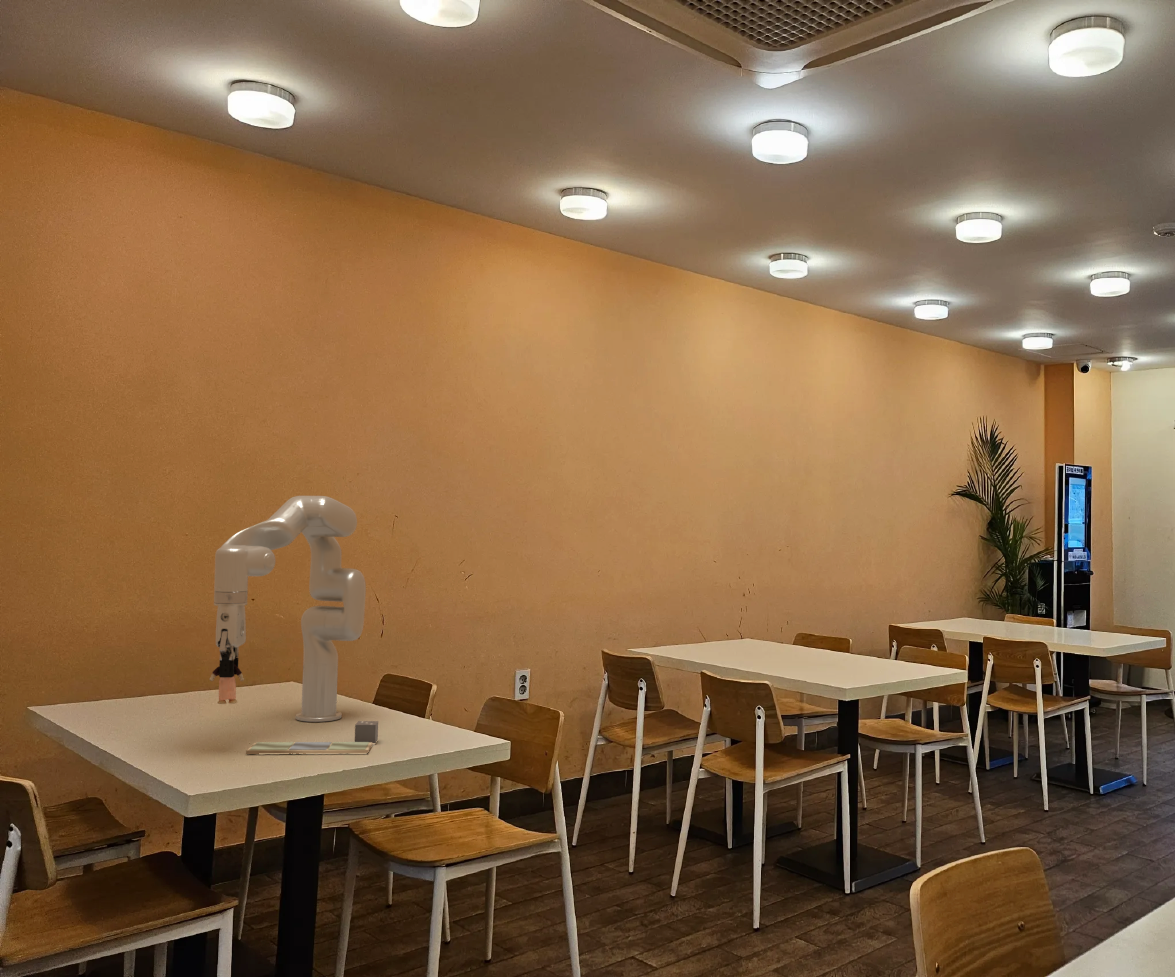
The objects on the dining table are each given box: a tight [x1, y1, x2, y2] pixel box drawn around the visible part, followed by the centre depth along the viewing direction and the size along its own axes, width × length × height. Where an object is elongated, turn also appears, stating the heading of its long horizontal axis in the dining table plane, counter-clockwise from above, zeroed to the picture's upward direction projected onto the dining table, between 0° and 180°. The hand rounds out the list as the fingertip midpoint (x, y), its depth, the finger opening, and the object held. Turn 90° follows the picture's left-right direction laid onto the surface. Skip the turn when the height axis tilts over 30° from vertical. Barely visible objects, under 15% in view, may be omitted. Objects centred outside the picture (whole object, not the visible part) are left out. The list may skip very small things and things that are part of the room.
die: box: [354, 720, 379, 744], centre depth 240 cm, size 5×5×5 cm
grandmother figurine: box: [209, 650, 245, 705], centre depth 229 cm, size 8×4×13 cm, turn 129°
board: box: [245, 741, 373, 755], centre depth 229 cm, size 9×28×1 cm, turn 96°
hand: (228, 675), depth 229 cm, fingers closed on grandmother figurine, 3 cm apart
